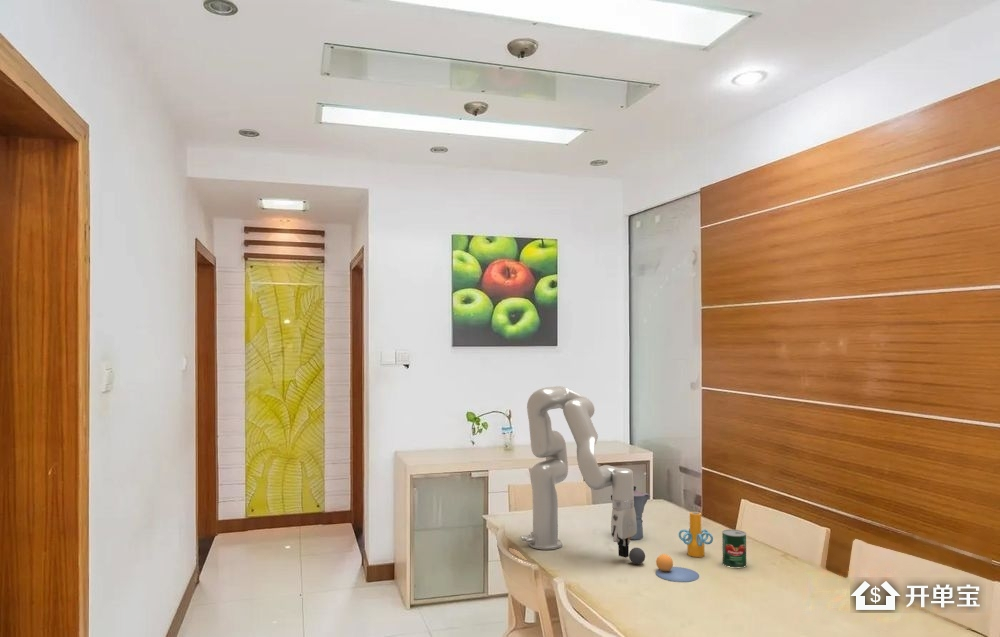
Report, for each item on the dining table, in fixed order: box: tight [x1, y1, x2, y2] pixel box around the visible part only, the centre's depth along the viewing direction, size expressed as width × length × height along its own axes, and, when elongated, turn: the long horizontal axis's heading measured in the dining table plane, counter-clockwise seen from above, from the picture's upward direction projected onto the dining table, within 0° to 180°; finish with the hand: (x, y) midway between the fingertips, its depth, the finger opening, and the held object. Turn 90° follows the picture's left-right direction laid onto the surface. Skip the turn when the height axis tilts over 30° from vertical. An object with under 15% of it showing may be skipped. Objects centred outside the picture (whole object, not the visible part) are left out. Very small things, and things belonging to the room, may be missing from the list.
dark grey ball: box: [628, 547, 646, 565], centre depth 235 cm, size 6×6×6 cm
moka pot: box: [610, 485, 651, 540], centre depth 267 cm, size 10×15×20 cm, turn 89°
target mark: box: [655, 566, 700, 583], centre depth 224 cm, size 14×14×1 cm
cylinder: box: [678, 511, 714, 558], centre depth 245 cm, size 12×10×15 cm
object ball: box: [655, 553, 674, 572], centre depth 227 cm, size 6×6×6 cm
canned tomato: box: [721, 529, 747, 568], centre depth 234 cm, size 8×8×11 cm
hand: (623, 556), depth 239 cm, fingers closed
